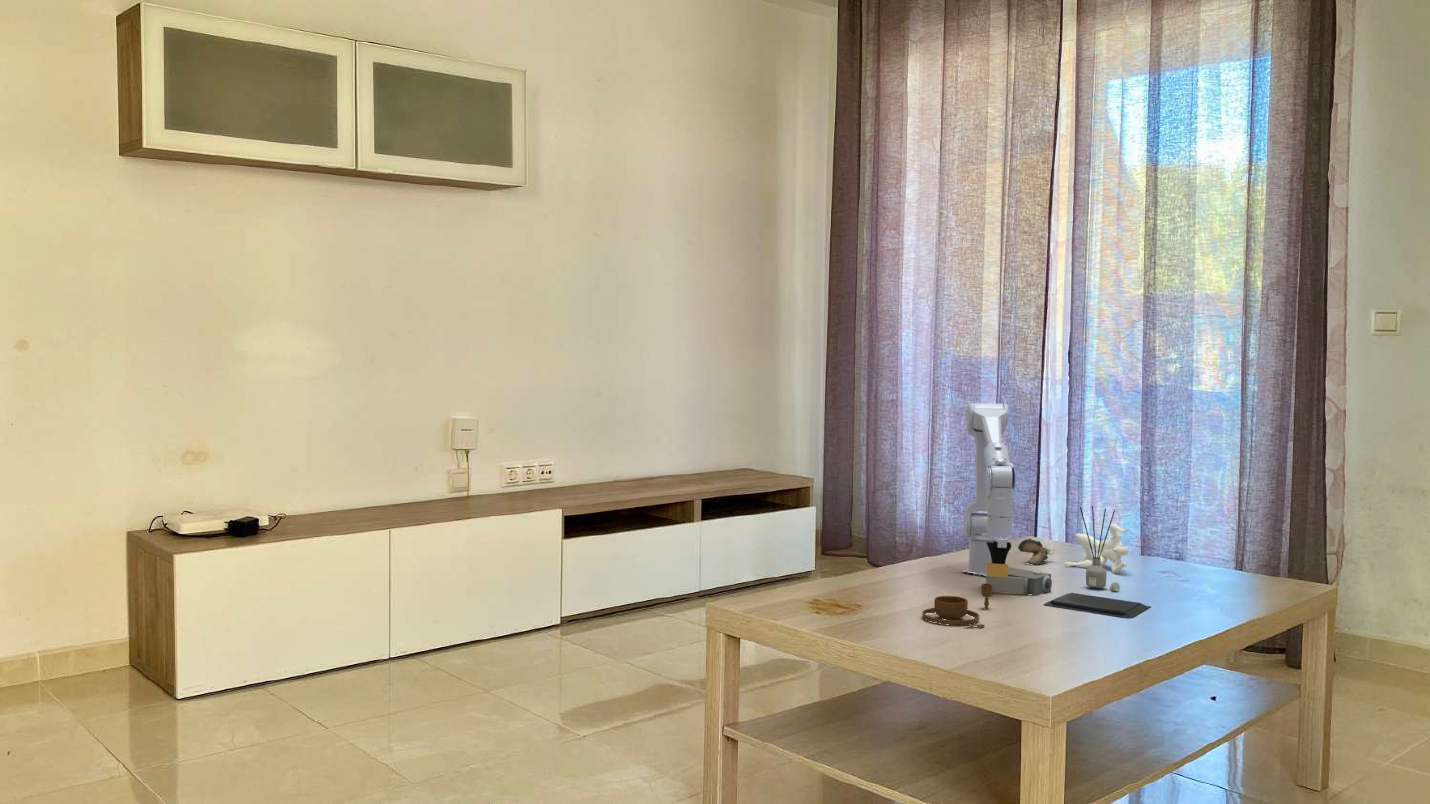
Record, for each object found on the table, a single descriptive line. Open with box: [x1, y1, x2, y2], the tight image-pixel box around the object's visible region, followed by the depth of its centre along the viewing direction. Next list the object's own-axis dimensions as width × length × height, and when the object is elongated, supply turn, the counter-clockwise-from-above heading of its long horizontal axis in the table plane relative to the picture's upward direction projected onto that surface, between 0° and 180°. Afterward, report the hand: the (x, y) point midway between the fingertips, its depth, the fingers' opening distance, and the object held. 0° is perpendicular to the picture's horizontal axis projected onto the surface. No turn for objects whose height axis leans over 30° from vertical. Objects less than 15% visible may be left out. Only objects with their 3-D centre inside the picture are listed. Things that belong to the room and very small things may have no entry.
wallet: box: [1043, 592, 1152, 620], centre depth 250 cm, size 20×2×15 cm
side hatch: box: [985, 563, 1028, 595], centre depth 262 cm, size 1×10×7 cm, turn 76°
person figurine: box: [1063, 523, 1130, 574], centre depth 295 cm, size 13×13×18 cm
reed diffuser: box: [1079, 506, 1121, 592], centre depth 269 cm, size 10×7×20 cm
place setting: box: [922, 583, 993, 629], centre depth 238 cm, size 18×20×6 cm
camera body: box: [1008, 566, 1053, 596], centre depth 267 cm, size 8×13×4 cm, turn 47°
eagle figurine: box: [1017, 538, 1056, 566], centre depth 301 cm, size 8×7×9 cm
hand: (998, 572), depth 264 cm, fingers closed
